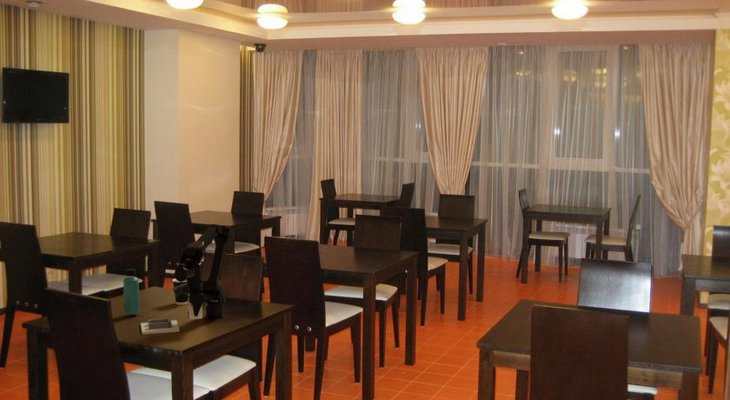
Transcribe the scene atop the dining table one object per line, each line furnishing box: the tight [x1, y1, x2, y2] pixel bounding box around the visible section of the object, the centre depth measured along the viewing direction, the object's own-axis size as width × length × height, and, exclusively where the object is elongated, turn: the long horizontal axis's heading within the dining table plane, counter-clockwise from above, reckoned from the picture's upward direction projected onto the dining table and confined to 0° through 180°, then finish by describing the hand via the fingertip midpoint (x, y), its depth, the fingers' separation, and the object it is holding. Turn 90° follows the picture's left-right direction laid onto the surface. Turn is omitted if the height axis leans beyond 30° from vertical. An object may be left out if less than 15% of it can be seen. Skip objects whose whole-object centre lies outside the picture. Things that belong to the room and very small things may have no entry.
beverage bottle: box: [122, 268, 141, 315], centre depth 318 cm, size 6×7×20 cm
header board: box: [140, 317, 180, 336], centre depth 299 cm, size 14×14×3 cm
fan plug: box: [185, 304, 203, 320], centre depth 303 cm, size 6×4×5 cm, turn 109°
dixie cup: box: [171, 278, 189, 306], centre depth 341 cm, size 8×8×11 cm
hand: (195, 315), depth 303 cm, fingers closed on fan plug, 4 cm apart
